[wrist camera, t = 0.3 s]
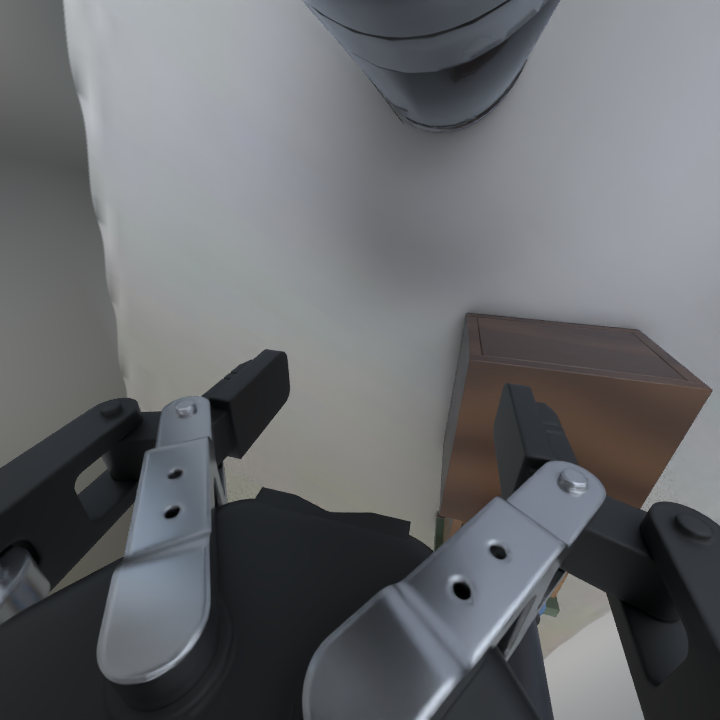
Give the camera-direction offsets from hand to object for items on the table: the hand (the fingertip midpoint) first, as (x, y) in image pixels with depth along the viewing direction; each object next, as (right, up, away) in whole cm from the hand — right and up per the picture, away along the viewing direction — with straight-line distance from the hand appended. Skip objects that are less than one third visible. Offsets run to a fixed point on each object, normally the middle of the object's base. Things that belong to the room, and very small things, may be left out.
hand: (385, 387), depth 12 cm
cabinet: (+14, -2, +18) cm, 23 cm away
